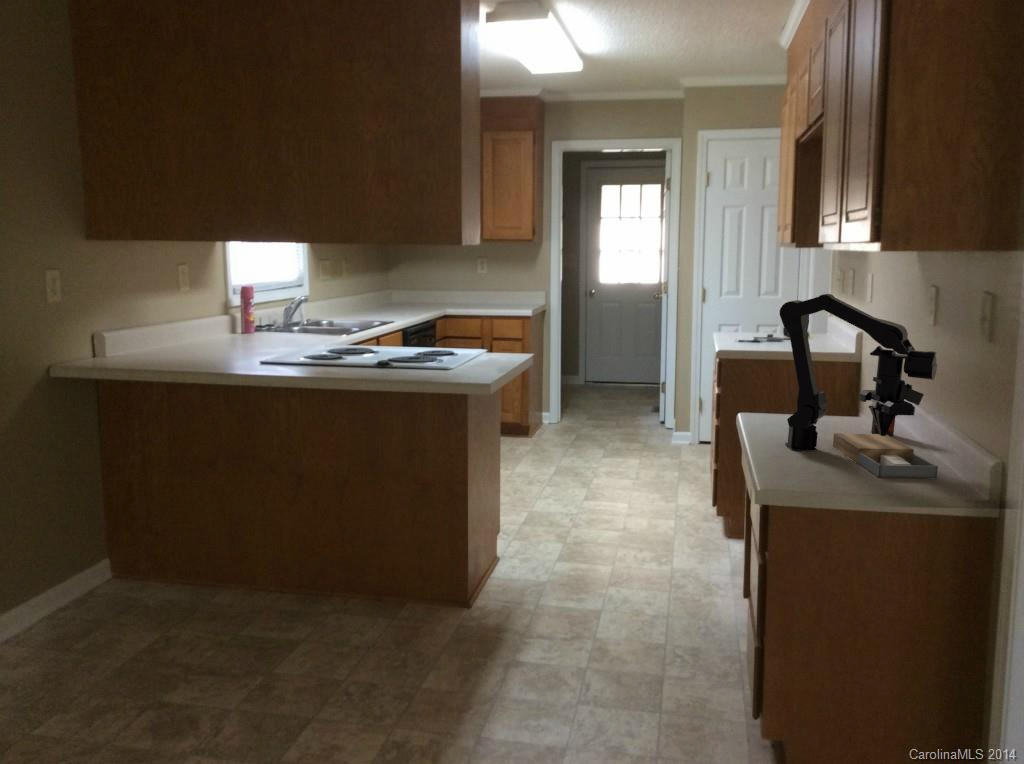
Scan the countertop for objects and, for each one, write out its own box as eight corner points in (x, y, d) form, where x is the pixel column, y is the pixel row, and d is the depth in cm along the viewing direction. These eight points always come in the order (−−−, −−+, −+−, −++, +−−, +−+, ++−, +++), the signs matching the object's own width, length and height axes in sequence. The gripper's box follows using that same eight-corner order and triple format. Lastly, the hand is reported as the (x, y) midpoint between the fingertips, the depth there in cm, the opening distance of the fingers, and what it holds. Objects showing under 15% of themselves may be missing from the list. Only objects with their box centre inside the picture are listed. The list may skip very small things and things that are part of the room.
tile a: (888, 467, 215) (889, 459, 215) (879, 462, 219) (880, 455, 219) (903, 467, 216) (904, 459, 216) (895, 462, 220) (895, 454, 219)
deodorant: (872, 435, 251) (878, 384, 248) (869, 431, 256) (874, 380, 254) (895, 437, 249) (900, 385, 247) (891, 433, 255) (896, 382, 252)
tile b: (887, 459, 215) (886, 467, 215) (894, 463, 211) (893, 471, 211) (903, 459, 215) (902, 467, 215) (911, 464, 211) (910, 472, 211)
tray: (878, 477, 208) (879, 465, 207) (857, 464, 220) (858, 452, 219) (936, 478, 208) (937, 466, 208) (912, 465, 220) (913, 453, 219)
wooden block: (857, 463, 220) (858, 448, 219) (832, 447, 235) (834, 433, 235) (912, 464, 220) (914, 449, 219) (884, 448, 236) (885, 434, 235)
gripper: (939, 382, 210) (932, 445, 213) (903, 369, 228) (897, 427, 231) (893, 381, 210) (886, 444, 212) (861, 368, 228) (855, 427, 231)
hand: (882, 435), depth 222 cm, fingers closed
